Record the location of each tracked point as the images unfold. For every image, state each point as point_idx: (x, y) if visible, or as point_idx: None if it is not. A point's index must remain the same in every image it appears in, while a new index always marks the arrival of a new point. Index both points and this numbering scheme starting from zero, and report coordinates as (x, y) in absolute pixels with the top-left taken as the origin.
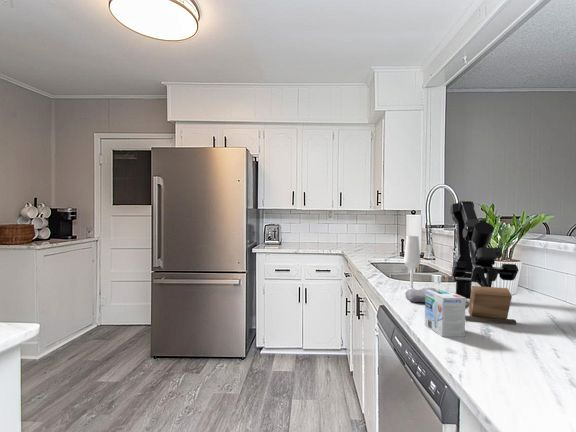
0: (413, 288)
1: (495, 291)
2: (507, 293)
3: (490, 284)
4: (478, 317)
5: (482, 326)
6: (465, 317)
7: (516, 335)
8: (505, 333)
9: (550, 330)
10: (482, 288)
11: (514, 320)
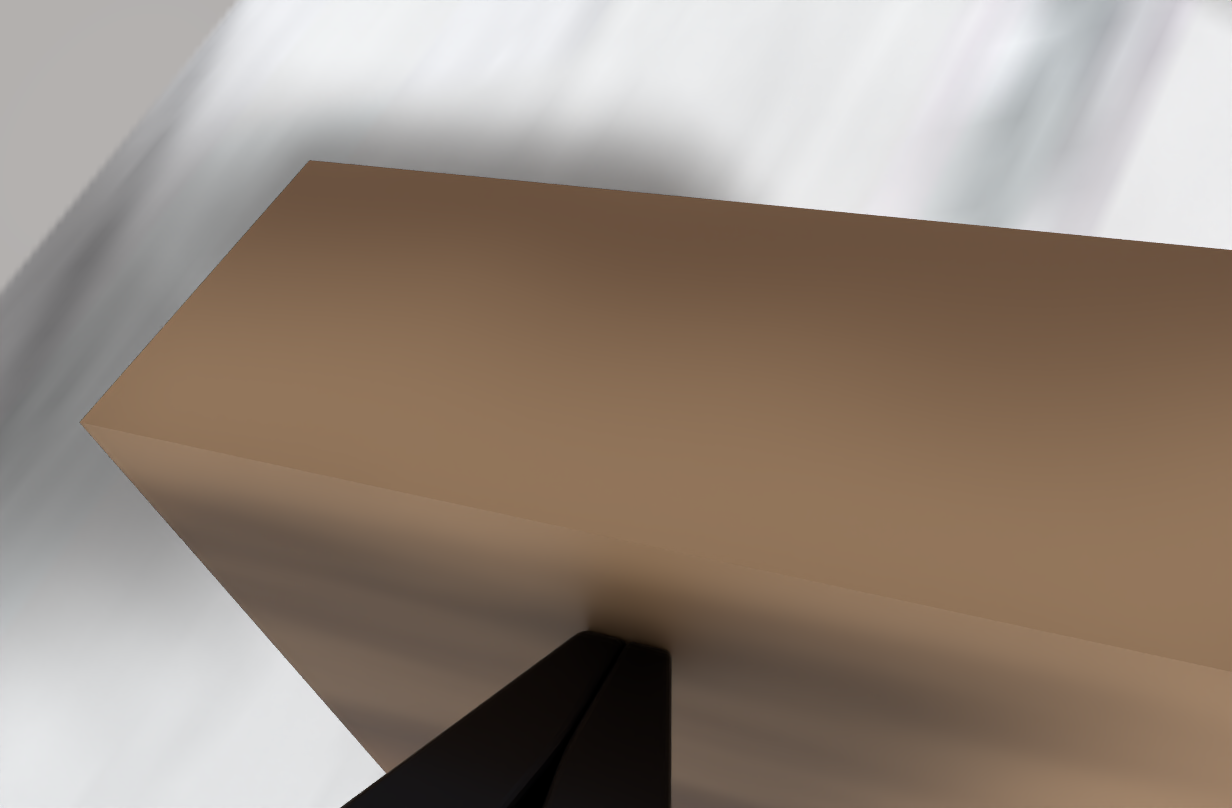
0: None
1: (566, 322)
2: (314, 234)
3: (411, 799)
4: None
5: None
6: None
7: (707, 33)
8: (810, 76)
9: (177, 300)
10: (945, 487)
11: None
